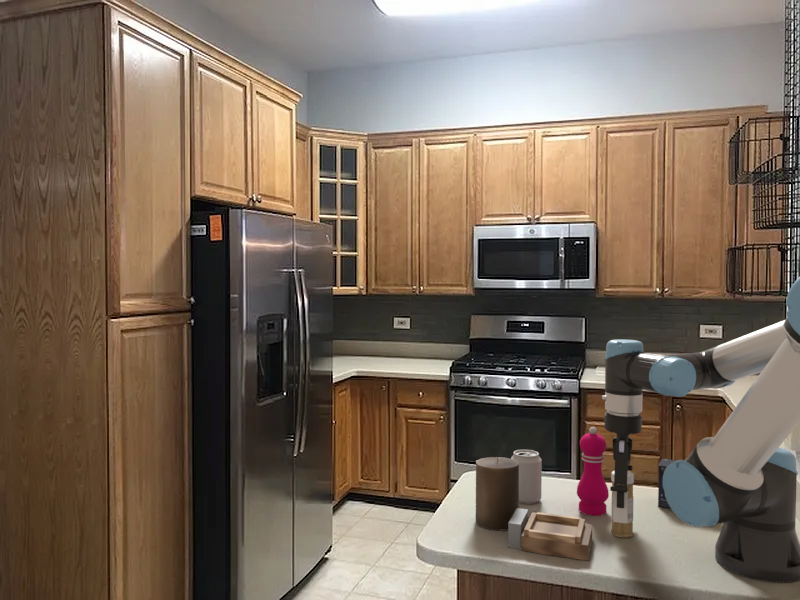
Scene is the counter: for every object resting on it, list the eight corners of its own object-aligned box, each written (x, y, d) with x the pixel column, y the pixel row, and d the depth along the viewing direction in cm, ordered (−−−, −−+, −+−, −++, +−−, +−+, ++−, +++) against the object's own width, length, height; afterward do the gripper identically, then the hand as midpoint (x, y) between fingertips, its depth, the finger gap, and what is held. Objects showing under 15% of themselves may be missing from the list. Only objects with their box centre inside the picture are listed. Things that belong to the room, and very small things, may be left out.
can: (522, 492, 163) (522, 446, 163) (547, 500, 158) (547, 452, 157) (504, 499, 158) (504, 451, 158) (529, 507, 153) (529, 458, 152)
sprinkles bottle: (625, 529, 139) (626, 468, 139) (637, 537, 135) (638, 474, 134) (606, 531, 138) (607, 469, 138) (618, 539, 134) (618, 476, 134)
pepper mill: (610, 517, 146) (611, 431, 145) (577, 515, 148) (578, 429, 147) (606, 506, 153) (607, 424, 153) (575, 504, 155) (576, 422, 154)
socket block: (592, 538, 134) (592, 519, 134) (587, 560, 124) (588, 539, 124) (530, 530, 139) (530, 511, 139) (520, 550, 129) (521, 530, 128)
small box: (657, 508, 152) (657, 464, 152) (661, 499, 158) (661, 457, 158) (705, 516, 147) (706, 471, 147) (708, 507, 153) (708, 464, 152)
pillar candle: (518, 532, 138) (518, 463, 138) (472, 528, 140) (473, 460, 140) (519, 516, 147) (520, 452, 147) (477, 513, 149) (477, 449, 149)
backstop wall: (528, 532, 138) (528, 509, 138) (520, 548, 130) (520, 524, 129) (516, 530, 139) (516, 508, 139) (508, 547, 130) (508, 522, 130)
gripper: (607, 400, 149) (606, 489, 150) (600, 423, 126) (599, 529, 126) (642, 402, 146) (640, 493, 147) (641, 427, 123) (639, 535, 124)
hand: (621, 510), depth 137 cm, fingers open, 13 cm apart
